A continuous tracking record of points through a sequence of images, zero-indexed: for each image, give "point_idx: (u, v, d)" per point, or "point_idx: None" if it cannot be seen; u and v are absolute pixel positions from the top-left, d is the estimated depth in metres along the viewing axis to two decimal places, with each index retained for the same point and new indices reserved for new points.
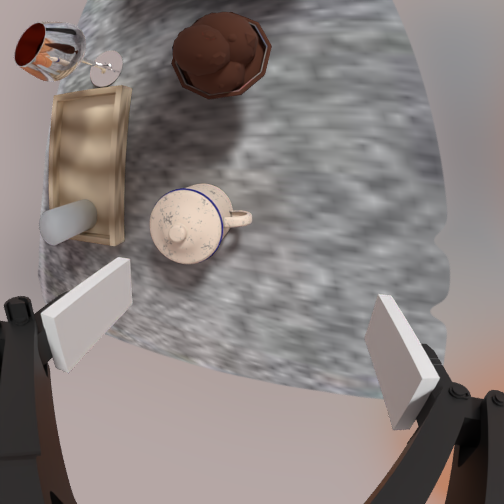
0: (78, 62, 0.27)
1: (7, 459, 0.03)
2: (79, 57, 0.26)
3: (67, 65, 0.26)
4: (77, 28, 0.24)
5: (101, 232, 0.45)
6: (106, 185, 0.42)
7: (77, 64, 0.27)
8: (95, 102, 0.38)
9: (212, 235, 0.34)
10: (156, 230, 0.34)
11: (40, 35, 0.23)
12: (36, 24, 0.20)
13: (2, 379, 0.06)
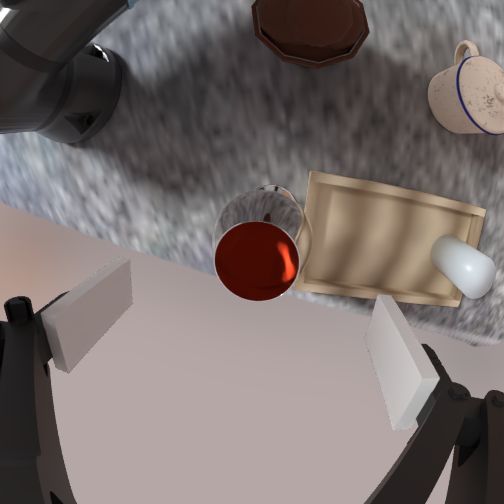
0: None
1: (7, 459, 0.03)
2: None
3: (300, 209, 0.23)
4: (234, 199, 0.24)
5: (466, 232, 0.33)
6: (423, 214, 0.34)
7: None
8: (320, 222, 0.36)
9: (494, 65, 0.19)
10: (496, 122, 0.21)
11: (223, 271, 0.25)
12: None
13: (2, 379, 0.06)
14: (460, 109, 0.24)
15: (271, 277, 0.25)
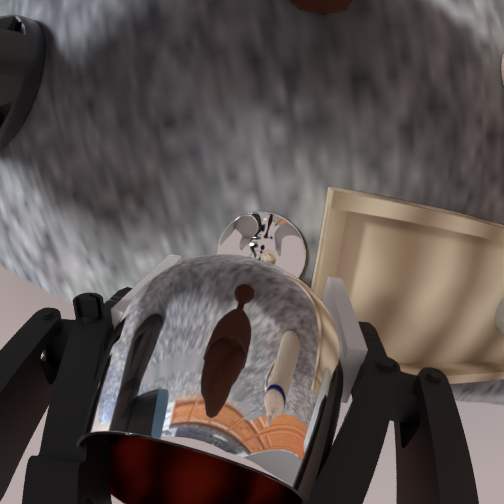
0: None
1: (47, 460, 0.04)
2: (284, 270, 0.10)
3: (320, 315, 0.09)
4: (150, 281, 0.09)
5: None
6: (496, 257, 0.19)
7: None
8: (343, 276, 0.21)
9: None
10: None
11: None
12: None
13: (59, 375, 0.07)
14: None
15: None
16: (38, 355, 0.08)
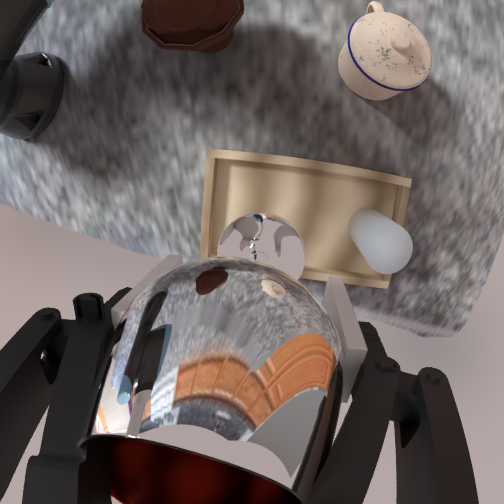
0: None
1: (47, 460, 0.04)
2: (284, 272, 0.10)
3: (320, 318, 0.09)
4: (150, 283, 0.09)
5: (391, 205, 0.34)
6: (335, 185, 0.35)
7: None
8: (222, 197, 0.37)
9: (397, 18, 0.20)
10: (398, 76, 0.22)
11: None
12: None
13: (59, 375, 0.07)
14: (357, 69, 0.25)
15: None
16: (38, 355, 0.08)
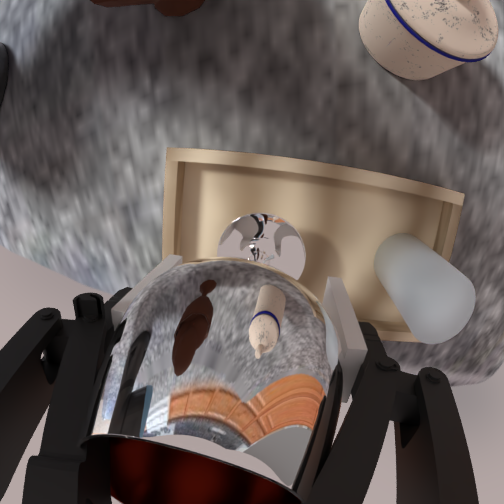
0: (297, 281, 0.10)
1: (47, 460, 0.04)
2: (284, 272, 0.10)
3: (320, 318, 0.09)
4: (150, 284, 0.09)
5: (434, 230, 0.23)
6: (358, 201, 0.23)
7: None
8: (192, 219, 0.25)
9: None
10: (461, 37, 0.11)
11: None
12: None
13: (59, 375, 0.07)
14: (395, 25, 0.13)
15: None
16: (38, 355, 0.08)
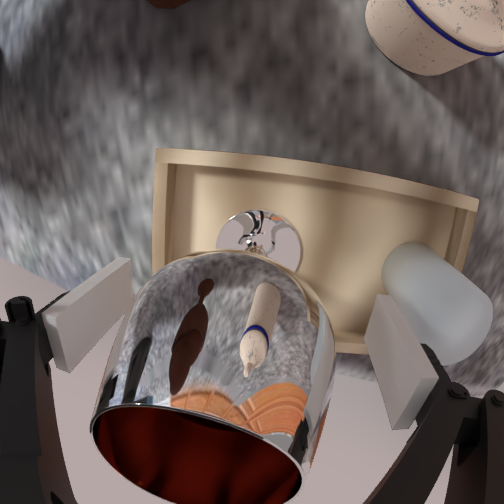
0: None
1: (8, 459, 0.03)
2: (280, 263, 0.11)
3: (312, 303, 0.09)
4: (157, 273, 0.10)
5: (446, 238, 0.21)
6: (366, 207, 0.21)
7: None
8: (185, 226, 0.23)
9: None
10: (479, 28, 0.09)
11: (149, 412, 0.11)
12: (103, 435, 0.07)
13: (3, 379, 0.06)
14: (407, 13, 0.11)
15: None
16: None
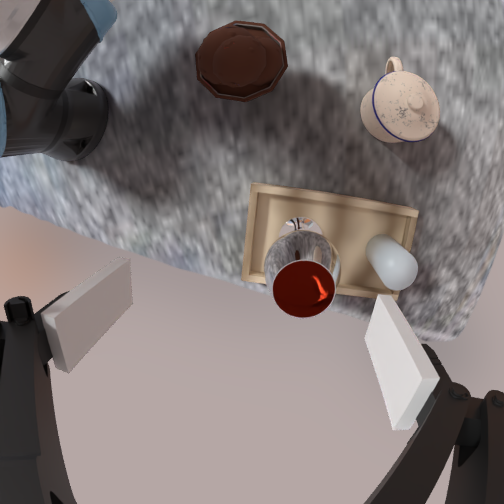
0: None
1: (7, 459, 0.03)
2: None
3: (333, 246, 0.30)
4: (281, 237, 0.31)
5: (401, 232, 0.41)
6: (356, 216, 0.42)
7: None
8: (262, 225, 0.44)
9: (413, 78, 0.28)
10: (412, 130, 0.30)
11: (272, 293, 0.31)
12: (271, 286, 0.28)
13: (2, 379, 0.06)
14: (378, 122, 0.32)
15: (308, 298, 0.32)
16: None
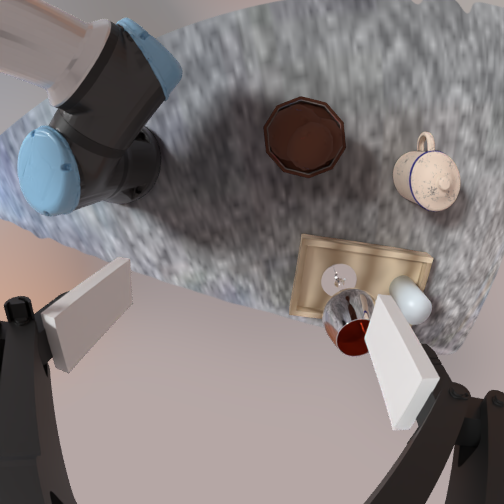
0: None
1: (7, 459, 0.03)
2: (366, 291, 0.39)
3: (375, 301, 0.38)
4: (338, 295, 0.39)
5: (418, 273, 0.50)
6: (383, 262, 0.50)
7: None
8: (308, 269, 0.52)
9: (443, 158, 0.36)
10: (437, 204, 0.38)
11: (329, 336, 0.39)
12: (335, 336, 0.36)
13: (2, 379, 0.06)
14: (411, 193, 0.40)
15: (354, 337, 0.40)
16: None
